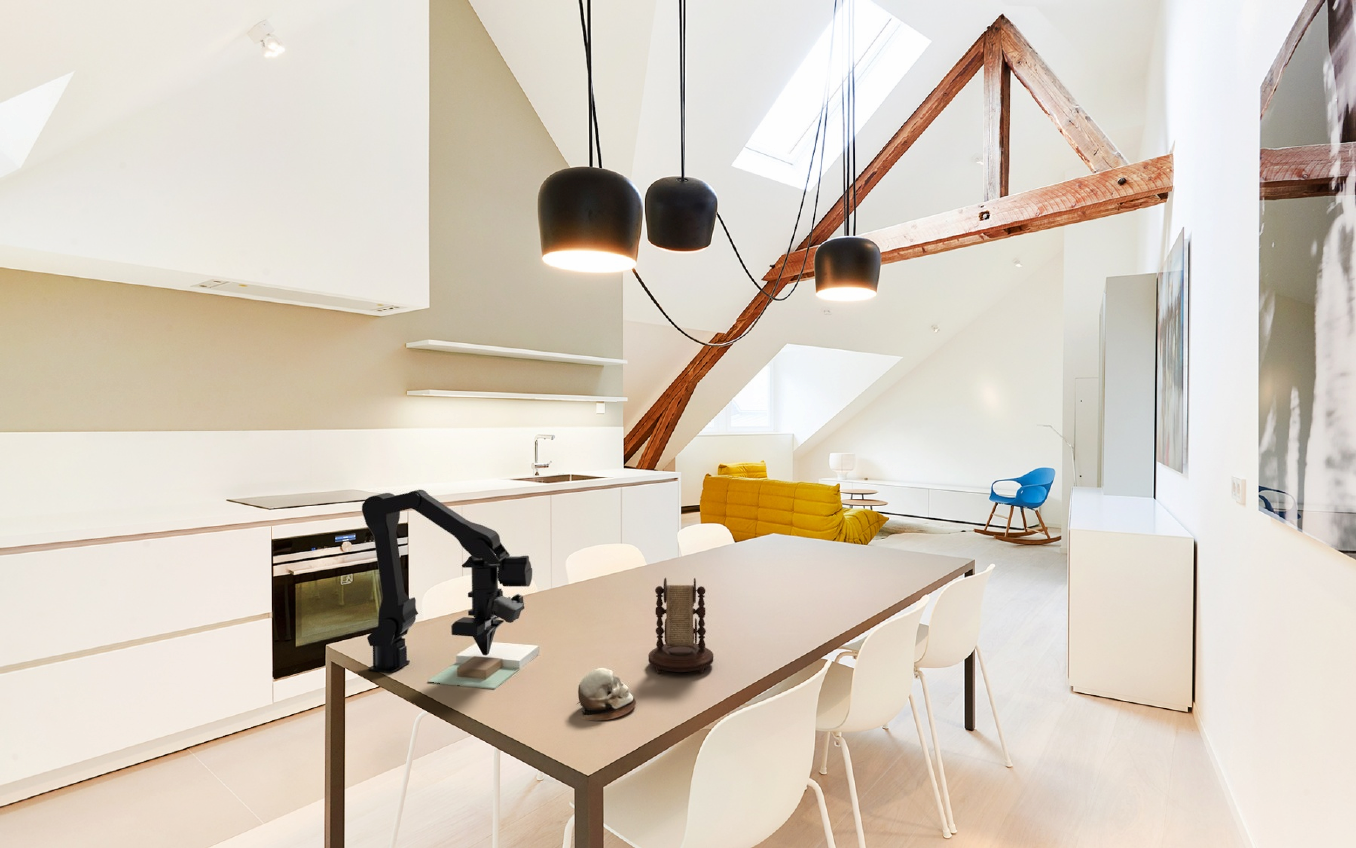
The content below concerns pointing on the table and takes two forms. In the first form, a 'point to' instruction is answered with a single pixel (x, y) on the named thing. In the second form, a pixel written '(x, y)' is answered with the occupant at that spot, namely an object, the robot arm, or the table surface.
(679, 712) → the table surface
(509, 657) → the plate
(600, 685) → the skull
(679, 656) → the scroll
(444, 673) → the mat
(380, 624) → the robot arm
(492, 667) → the tile
